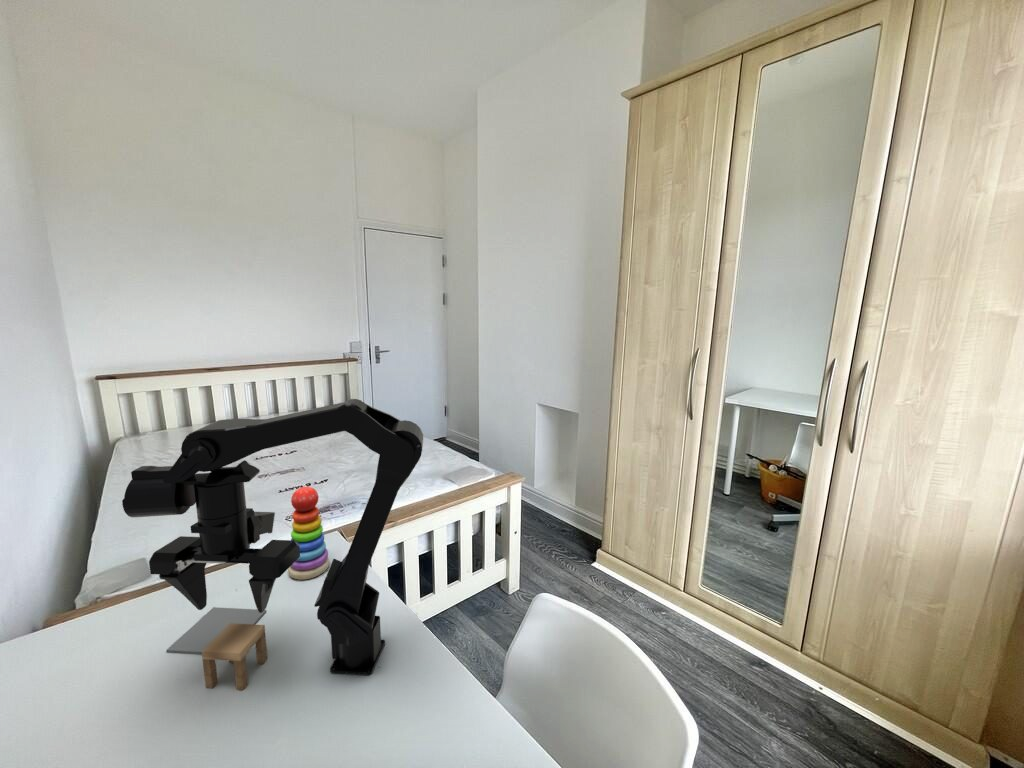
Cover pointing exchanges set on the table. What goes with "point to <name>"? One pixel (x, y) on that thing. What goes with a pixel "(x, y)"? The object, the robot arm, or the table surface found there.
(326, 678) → the table surface
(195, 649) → the mat
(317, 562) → the stacking toy
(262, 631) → the stool
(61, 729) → the table surface
